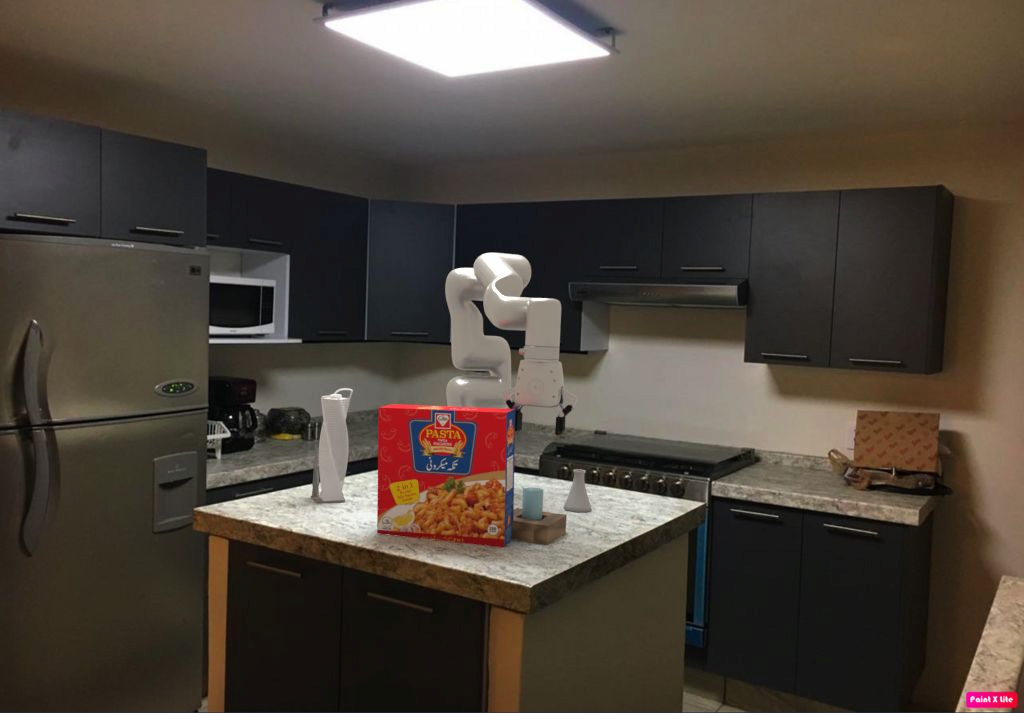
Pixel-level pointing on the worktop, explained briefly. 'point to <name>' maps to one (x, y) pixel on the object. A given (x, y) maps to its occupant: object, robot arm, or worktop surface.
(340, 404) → the skyscraper
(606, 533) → the worktop surface
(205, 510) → the worktop surface
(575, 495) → the flask
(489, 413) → the pasta box
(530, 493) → the teal peg
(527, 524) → the walnut pocket block
